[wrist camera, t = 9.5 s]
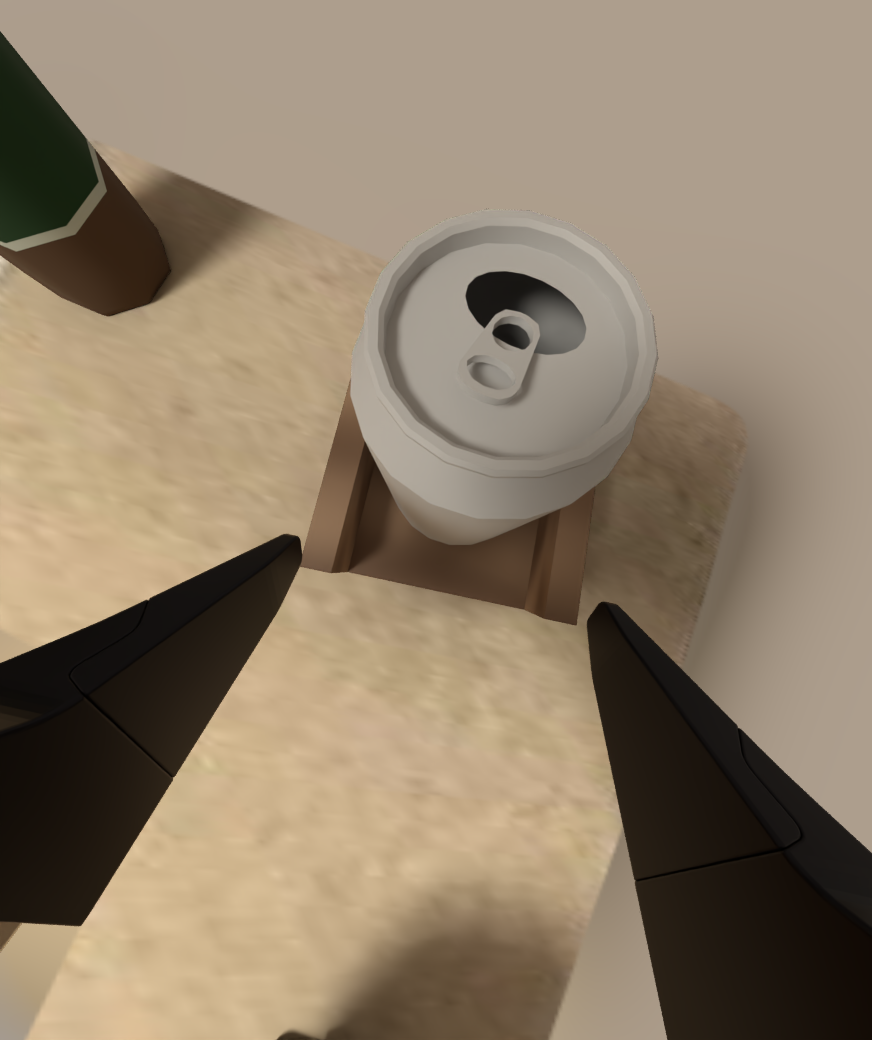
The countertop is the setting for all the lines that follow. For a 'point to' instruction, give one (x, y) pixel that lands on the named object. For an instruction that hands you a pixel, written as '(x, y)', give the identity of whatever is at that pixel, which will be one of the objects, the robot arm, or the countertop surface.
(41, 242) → the beer bottle
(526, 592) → the brown wooden square tray
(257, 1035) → the countertop surface
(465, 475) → the can
